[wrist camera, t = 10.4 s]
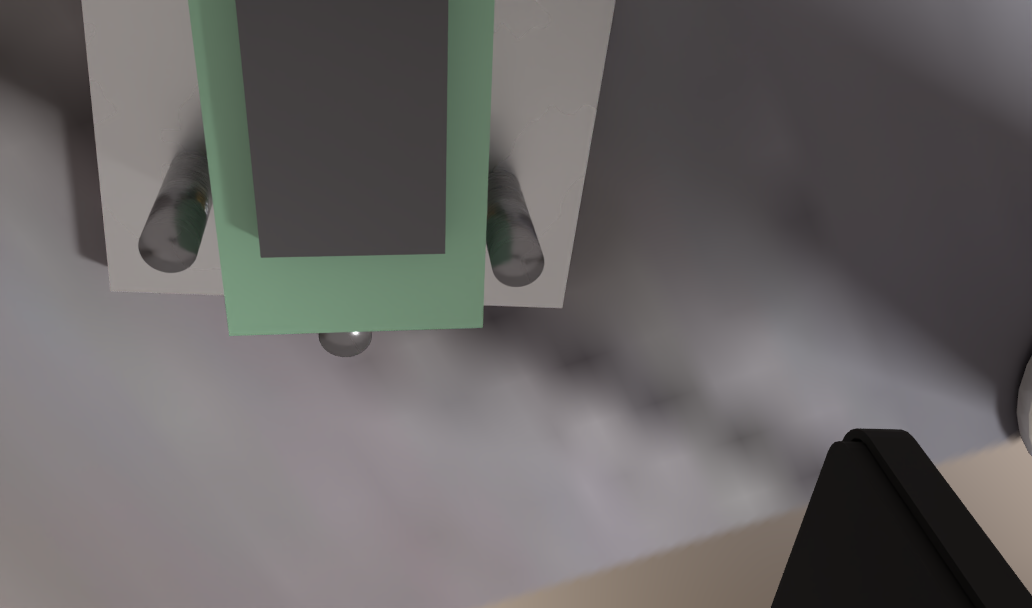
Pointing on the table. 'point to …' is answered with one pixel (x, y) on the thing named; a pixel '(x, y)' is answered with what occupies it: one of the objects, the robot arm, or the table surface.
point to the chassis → (184, 165)
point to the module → (347, 160)
